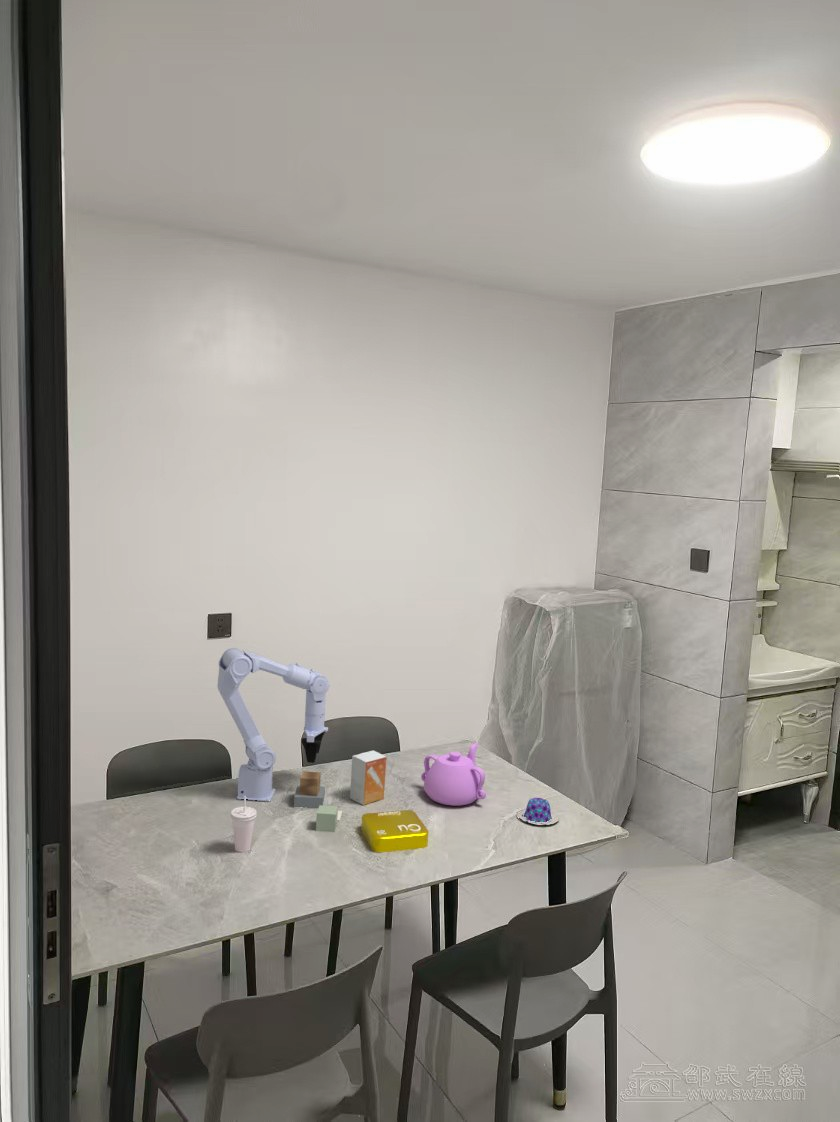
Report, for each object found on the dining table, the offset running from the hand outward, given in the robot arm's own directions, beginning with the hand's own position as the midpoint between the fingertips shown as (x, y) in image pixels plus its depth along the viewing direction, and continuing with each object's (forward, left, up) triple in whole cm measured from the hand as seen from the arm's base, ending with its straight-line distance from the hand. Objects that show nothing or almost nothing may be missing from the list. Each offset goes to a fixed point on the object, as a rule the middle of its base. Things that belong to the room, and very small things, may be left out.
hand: (313, 757), depth 248 cm
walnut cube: (+1, -10, -6) cm, 12 cm away
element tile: (+26, -28, -10) cm, 40 cm away
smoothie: (-11, -40, -10) cm, 43 cm away
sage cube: (+8, -25, -10) cm, 28 cm away
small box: (+17, -5, -10) cm, 20 cm away
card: (+8, -18, -9) cm, 22 cm away
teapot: (+43, +2, -10) cm, 44 cm away
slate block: (+1, -10, -10) cm, 14 cm away
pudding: (+66, -10, -10) cm, 67 cm away
